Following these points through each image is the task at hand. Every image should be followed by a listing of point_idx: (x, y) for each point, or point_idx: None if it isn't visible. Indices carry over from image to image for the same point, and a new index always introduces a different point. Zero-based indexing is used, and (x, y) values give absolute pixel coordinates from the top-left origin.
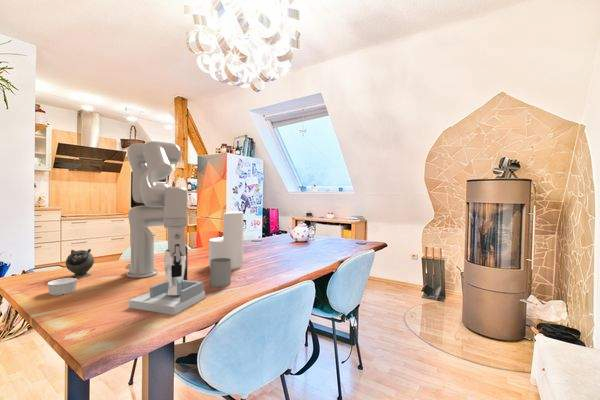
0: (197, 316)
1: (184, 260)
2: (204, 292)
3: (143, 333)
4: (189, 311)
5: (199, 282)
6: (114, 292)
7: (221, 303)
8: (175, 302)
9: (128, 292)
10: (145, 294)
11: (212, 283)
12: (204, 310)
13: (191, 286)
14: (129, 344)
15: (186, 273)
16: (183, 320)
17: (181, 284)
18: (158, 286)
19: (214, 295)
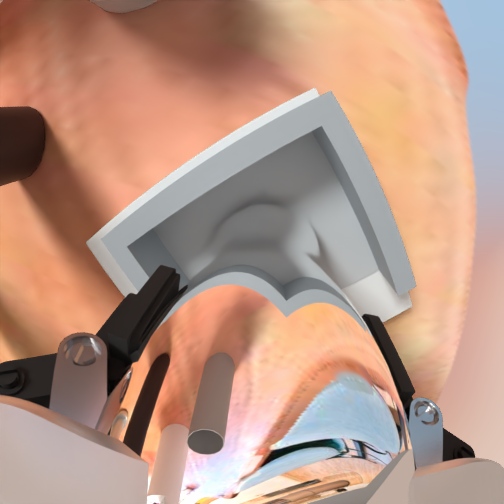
0: (464, 233)
1: (396, 391)
2: (315, 92)
3: (426, 372)
4: (414, 234)
5: (321, 113)
6: (56, 345)
7: (424, 86)
8: (373, 288)
9: (63, 322)
10: None
11: (141, 1)
12: (444, 184)
13: (373, 206)
14: (439, 391)
15: (7, 113)
16: (453, 281)
17: (316, 259)
18: None
19: (301, 41)
